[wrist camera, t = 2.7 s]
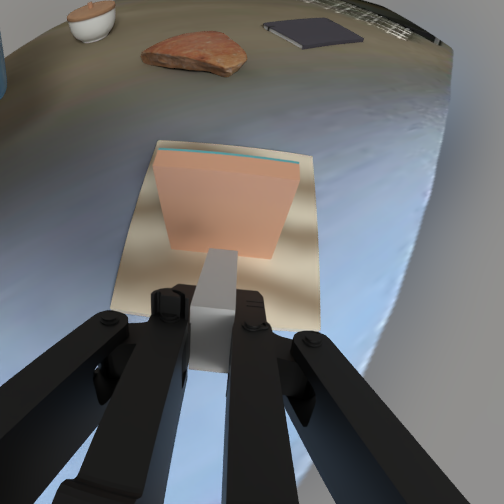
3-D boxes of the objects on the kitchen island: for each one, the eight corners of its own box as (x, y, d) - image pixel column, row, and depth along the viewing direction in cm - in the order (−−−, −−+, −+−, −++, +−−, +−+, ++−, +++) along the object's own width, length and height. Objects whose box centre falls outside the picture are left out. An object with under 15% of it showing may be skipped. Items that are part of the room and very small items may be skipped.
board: (317, 332, 27) (320, 330, 26) (113, 311, 25) (110, 308, 24) (310, 161, 36) (312, 156, 35) (159, 146, 35) (158, 140, 34)
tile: (270, 259, 28) (300, 180, 19) (171, 249, 28) (152, 165, 18) (271, 243, 29) (299, 161, 19) (174, 233, 28) (158, 147, 19)
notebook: (301, 51, 51) (362, 43, 59) (303, 45, 50) (364, 38, 57) (260, 29, 55) (324, 22, 63) (261, 23, 54) (325, 17, 61)
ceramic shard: (174, 67, 35) (136, 47, 42) (184, 103, 41) (146, 77, 47) (261, 34, 39) (209, 19, 45) (264, 68, 44) (214, 47, 51)
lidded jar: (70, 39, 49) (63, 6, 41) (112, 24, 53) (109, -9, 45) (75, 53, 46) (67, 15, 37) (123, 35, 49) (119, -2, 41)
